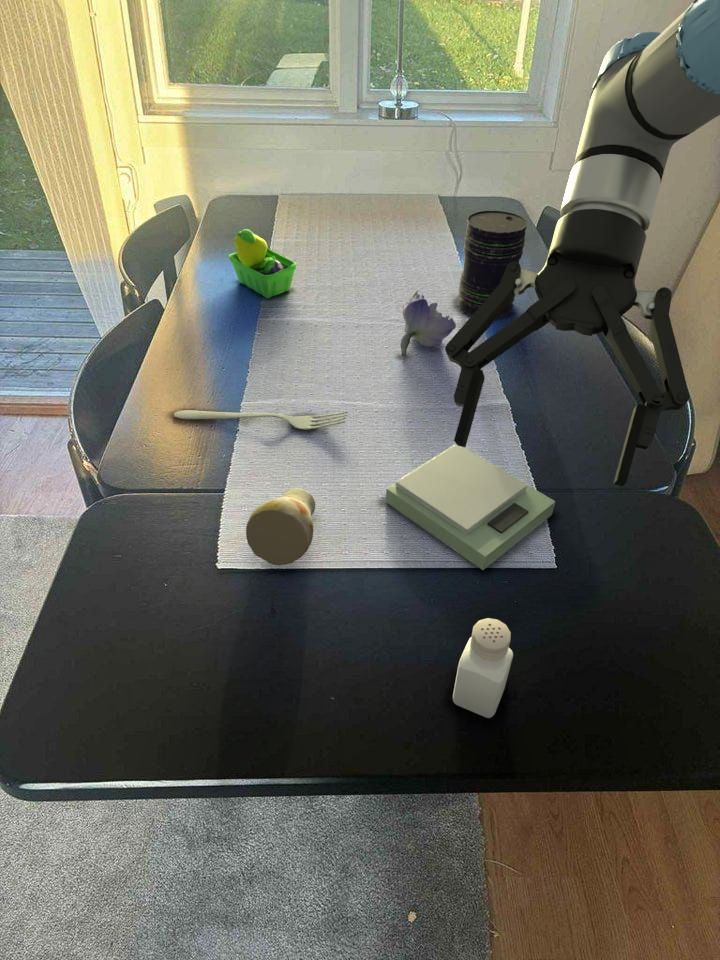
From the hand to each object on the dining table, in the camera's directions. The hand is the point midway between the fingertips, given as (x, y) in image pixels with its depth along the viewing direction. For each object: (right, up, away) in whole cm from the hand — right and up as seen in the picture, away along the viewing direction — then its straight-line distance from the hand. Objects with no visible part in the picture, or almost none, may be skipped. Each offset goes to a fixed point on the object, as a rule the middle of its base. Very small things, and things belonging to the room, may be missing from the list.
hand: (537, 463), depth 59 cm
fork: (-29, +7, +37) cm, 48 cm away
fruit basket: (-33, +34, +69) cm, 83 cm away
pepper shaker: (-4, -22, +5) cm, 22 cm away
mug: (-23, -8, +20) cm, 32 cm away
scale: (-2, -5, +24) cm, 25 cm away
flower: (-5, +20, +54) cm, 57 cm away
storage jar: (+7, +29, +65) cm, 71 cm away
